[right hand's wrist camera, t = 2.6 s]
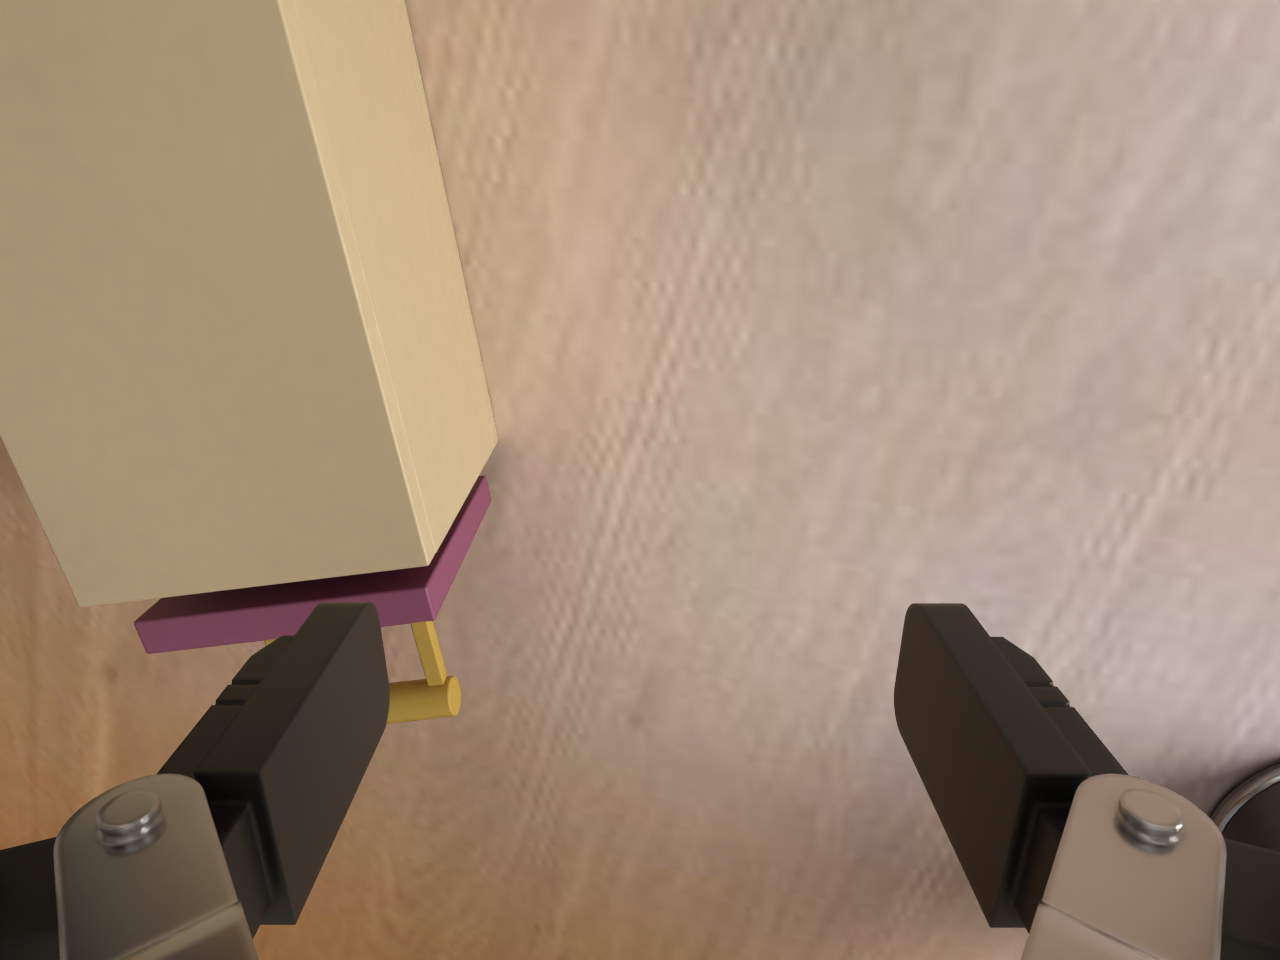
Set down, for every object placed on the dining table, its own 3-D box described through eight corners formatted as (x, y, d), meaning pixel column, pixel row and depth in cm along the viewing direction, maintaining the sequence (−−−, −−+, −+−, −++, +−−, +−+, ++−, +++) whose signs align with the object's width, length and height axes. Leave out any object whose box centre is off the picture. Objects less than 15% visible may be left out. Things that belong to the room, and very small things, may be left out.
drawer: (519, 624, 34) (477, 776, 26) (319, 647, 35) (211, 804, 26) (368, -55, 25) (219, -180, 16) (98, -10, 26) (-188, -109, 17)
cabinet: (498, 440, 32) (429, 566, 22) (258, 471, 33) (78, 609, 22) (367, -175, 25) (164, -435, 14) (58, -121, 25) (-359, -334, 15)
